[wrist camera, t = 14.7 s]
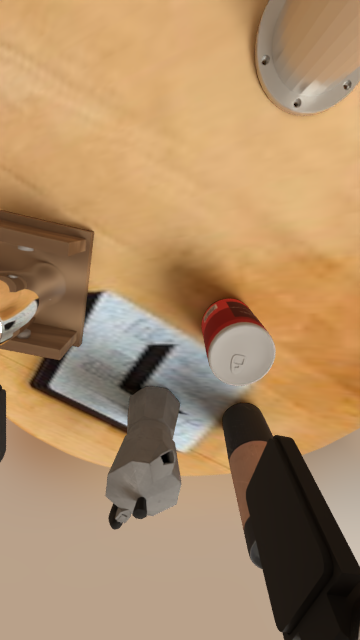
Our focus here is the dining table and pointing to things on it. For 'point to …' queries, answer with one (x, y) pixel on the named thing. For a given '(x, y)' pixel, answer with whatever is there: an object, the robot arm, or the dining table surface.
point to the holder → (70, 259)
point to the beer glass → (27, 296)
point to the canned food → (236, 343)
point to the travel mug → (245, 459)
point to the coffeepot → (146, 459)
